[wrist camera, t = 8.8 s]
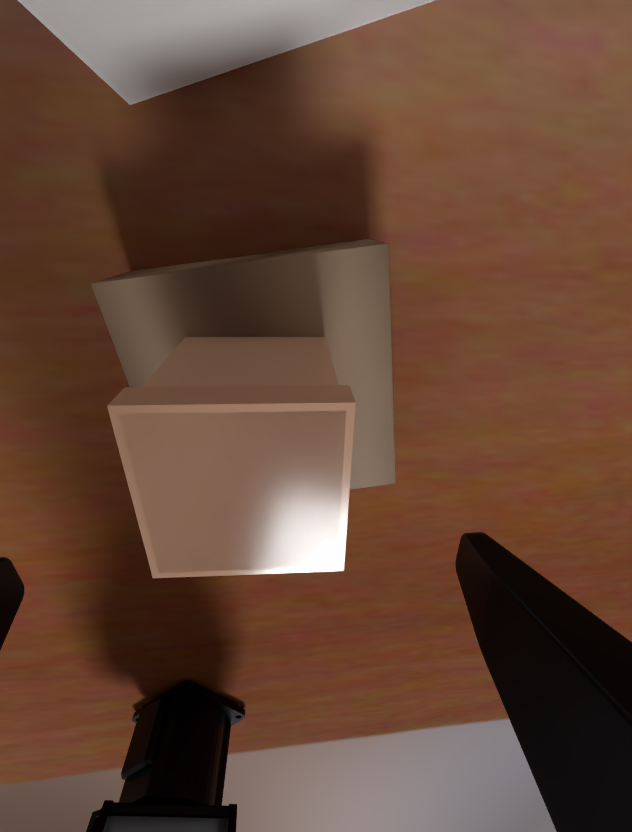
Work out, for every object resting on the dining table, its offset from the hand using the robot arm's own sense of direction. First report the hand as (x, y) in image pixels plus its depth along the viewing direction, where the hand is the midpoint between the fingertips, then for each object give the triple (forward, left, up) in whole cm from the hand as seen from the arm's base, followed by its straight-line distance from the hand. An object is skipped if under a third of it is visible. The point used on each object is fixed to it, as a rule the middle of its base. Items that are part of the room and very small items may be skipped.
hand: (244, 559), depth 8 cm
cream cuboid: (0, 0, -8) cm, 8 cm away
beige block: (0, 0, -12) cm, 12 cm away
